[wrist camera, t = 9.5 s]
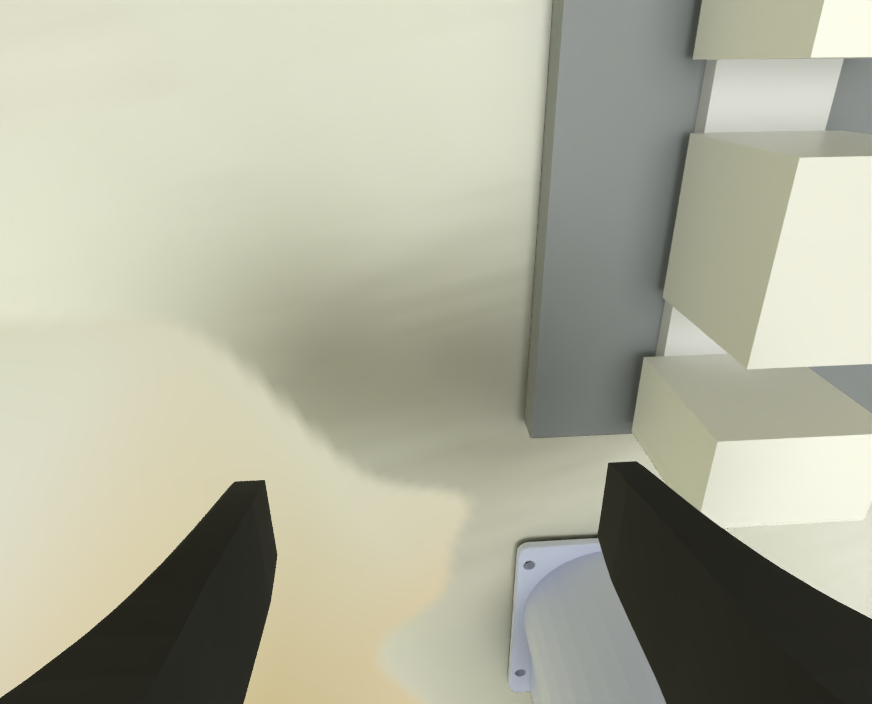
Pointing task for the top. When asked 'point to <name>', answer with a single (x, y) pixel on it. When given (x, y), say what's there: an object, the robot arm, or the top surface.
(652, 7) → the rail panel
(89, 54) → the top surface
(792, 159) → the block
